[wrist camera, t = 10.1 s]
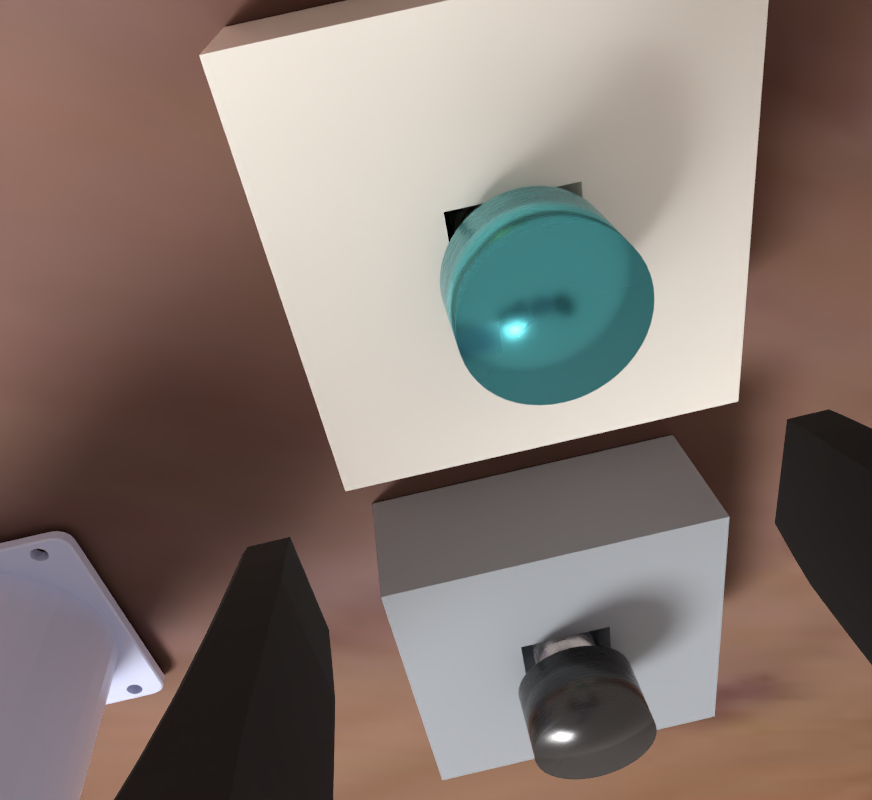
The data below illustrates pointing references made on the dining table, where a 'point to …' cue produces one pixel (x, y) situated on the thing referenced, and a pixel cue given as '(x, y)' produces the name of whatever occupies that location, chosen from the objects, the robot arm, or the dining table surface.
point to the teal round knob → (543, 295)
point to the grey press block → (553, 589)
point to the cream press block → (481, 181)
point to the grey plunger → (584, 709)
